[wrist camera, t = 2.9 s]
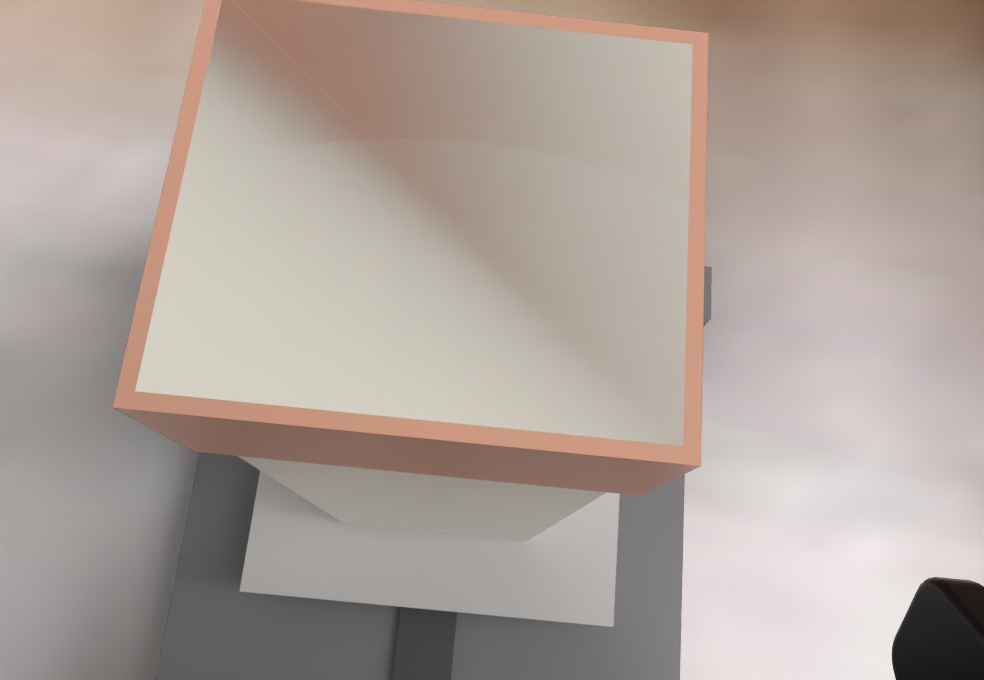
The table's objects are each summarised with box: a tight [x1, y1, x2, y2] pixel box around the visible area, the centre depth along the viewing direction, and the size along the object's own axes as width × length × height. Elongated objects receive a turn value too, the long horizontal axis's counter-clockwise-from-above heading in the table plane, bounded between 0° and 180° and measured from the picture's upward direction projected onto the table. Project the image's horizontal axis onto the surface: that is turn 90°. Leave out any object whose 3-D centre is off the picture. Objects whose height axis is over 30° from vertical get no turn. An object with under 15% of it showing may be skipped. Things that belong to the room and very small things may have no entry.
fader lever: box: [113, 0, 709, 627], centre depth 10 cm, size 5×6×11 cm
